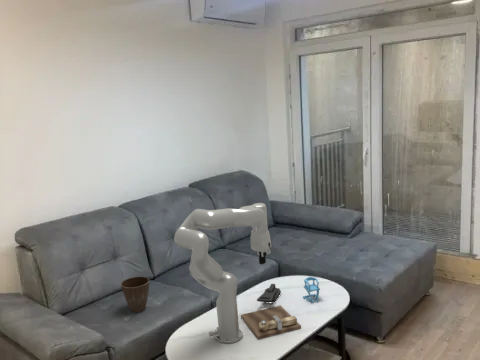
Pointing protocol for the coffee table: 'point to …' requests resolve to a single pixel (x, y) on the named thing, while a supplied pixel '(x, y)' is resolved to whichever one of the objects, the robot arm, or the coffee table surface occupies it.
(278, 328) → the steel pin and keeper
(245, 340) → the coffee table surface
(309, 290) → the chair
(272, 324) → the link
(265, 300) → the zipper pull
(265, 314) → the walnut board
